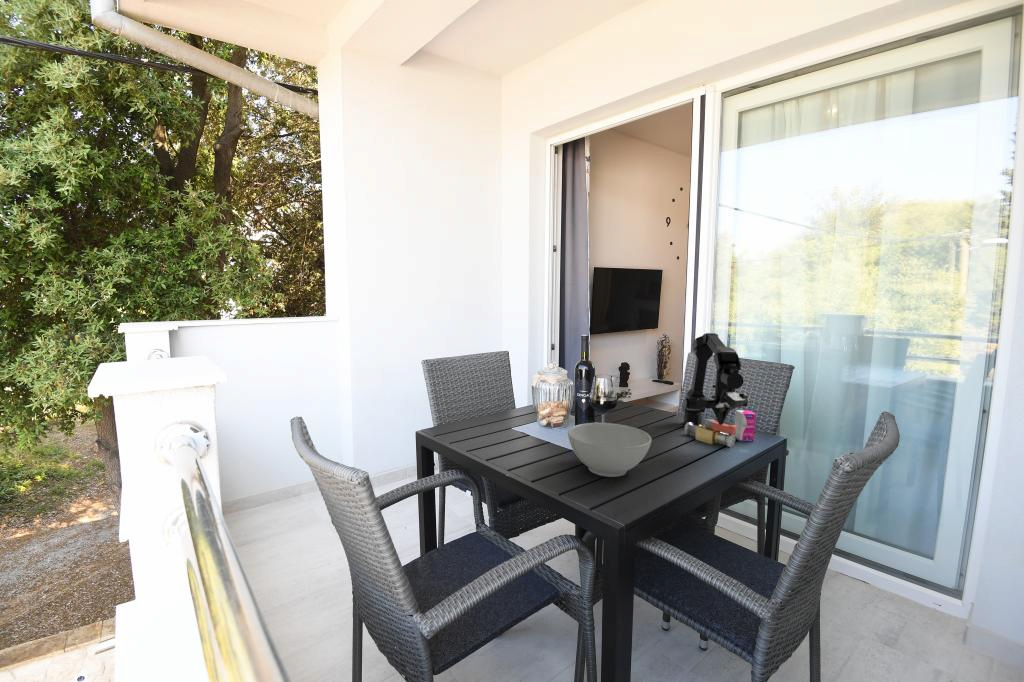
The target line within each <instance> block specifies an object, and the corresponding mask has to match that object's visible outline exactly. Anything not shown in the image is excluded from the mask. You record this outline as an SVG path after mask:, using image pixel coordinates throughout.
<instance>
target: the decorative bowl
mask: <svg viewBox="0 0 1024 682" xmlns="http://www.w3.org/2000/svg"><path fill="white" fill-rule="evenodd" d="M567 438H568V440H569V445H570V447H571V448H572V451H573V453H574V454H575V455H576V457H577V459H579V461H580V462H581V463H582V464H584V466H586V467H588V470H589V471H590V472H591V473H593V474H595V475H597V476H601V477H606V478H607V477H609V478H613V477H614V478H616V477H623V476H624V475H626V473H627V471H629V470H631V469H633V468H634V467H636V466H637V465H638V464H639V463H641V461H643V459H644V458H645V456H646V455H647V453H648V451H649V449H650V447H651V445H652V437H651V435H650V434H649V433H648V432H646V431H644V430H642V429H639V428H637V427H634V426H630V425H625V424H619V423H611V422H589V423H588V422H587V423H580V424H577V425H574V426H572V427H569V429H568V431H567Z"/></svg>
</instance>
